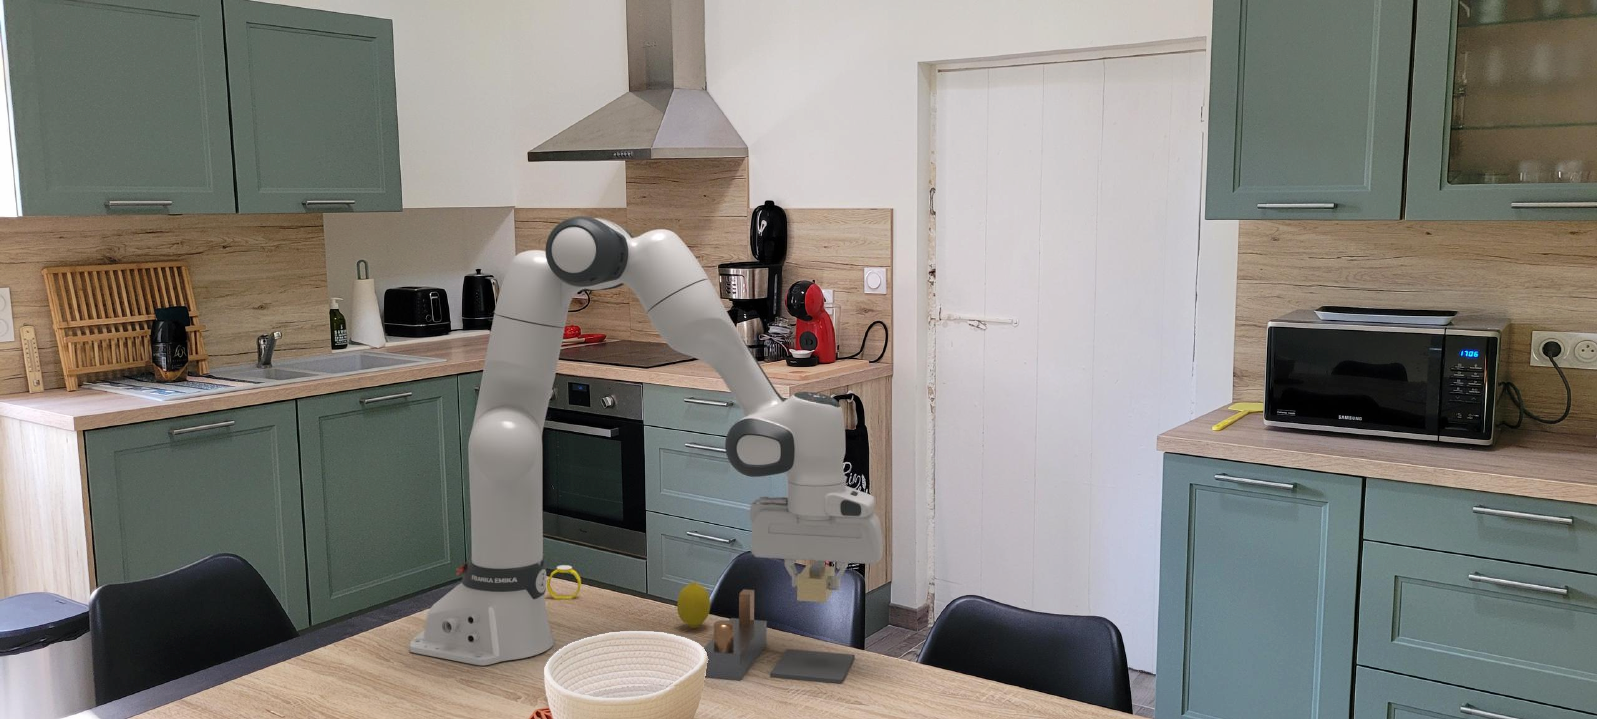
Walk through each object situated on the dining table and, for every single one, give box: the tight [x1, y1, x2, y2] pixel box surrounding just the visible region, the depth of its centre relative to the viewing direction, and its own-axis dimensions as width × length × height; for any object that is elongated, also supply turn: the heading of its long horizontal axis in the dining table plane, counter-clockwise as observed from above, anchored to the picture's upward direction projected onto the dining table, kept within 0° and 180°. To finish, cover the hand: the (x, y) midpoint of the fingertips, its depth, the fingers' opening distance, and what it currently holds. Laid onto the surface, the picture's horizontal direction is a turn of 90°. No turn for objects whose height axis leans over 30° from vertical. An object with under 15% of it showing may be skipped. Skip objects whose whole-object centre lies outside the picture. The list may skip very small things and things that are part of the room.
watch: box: [546, 564, 582, 600], centre depth 212 cm, size 6×3×6 cm, turn 92°
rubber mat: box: [769, 648, 856, 685], centre depth 179 cm, size 11×11×1 cm
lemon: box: [676, 581, 711, 629], centre depth 196 cm, size 6×6×8 cm
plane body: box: [703, 588, 768, 681], centre depth 181 cm, size 6×16×9 cm, turn 167°
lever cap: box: [796, 561, 836, 603], centre depth 178 cm, size 4×7×4 cm, turn 168°
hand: (816, 587), depth 178 cm, fingers closed on lever cap, 4 cm apart
